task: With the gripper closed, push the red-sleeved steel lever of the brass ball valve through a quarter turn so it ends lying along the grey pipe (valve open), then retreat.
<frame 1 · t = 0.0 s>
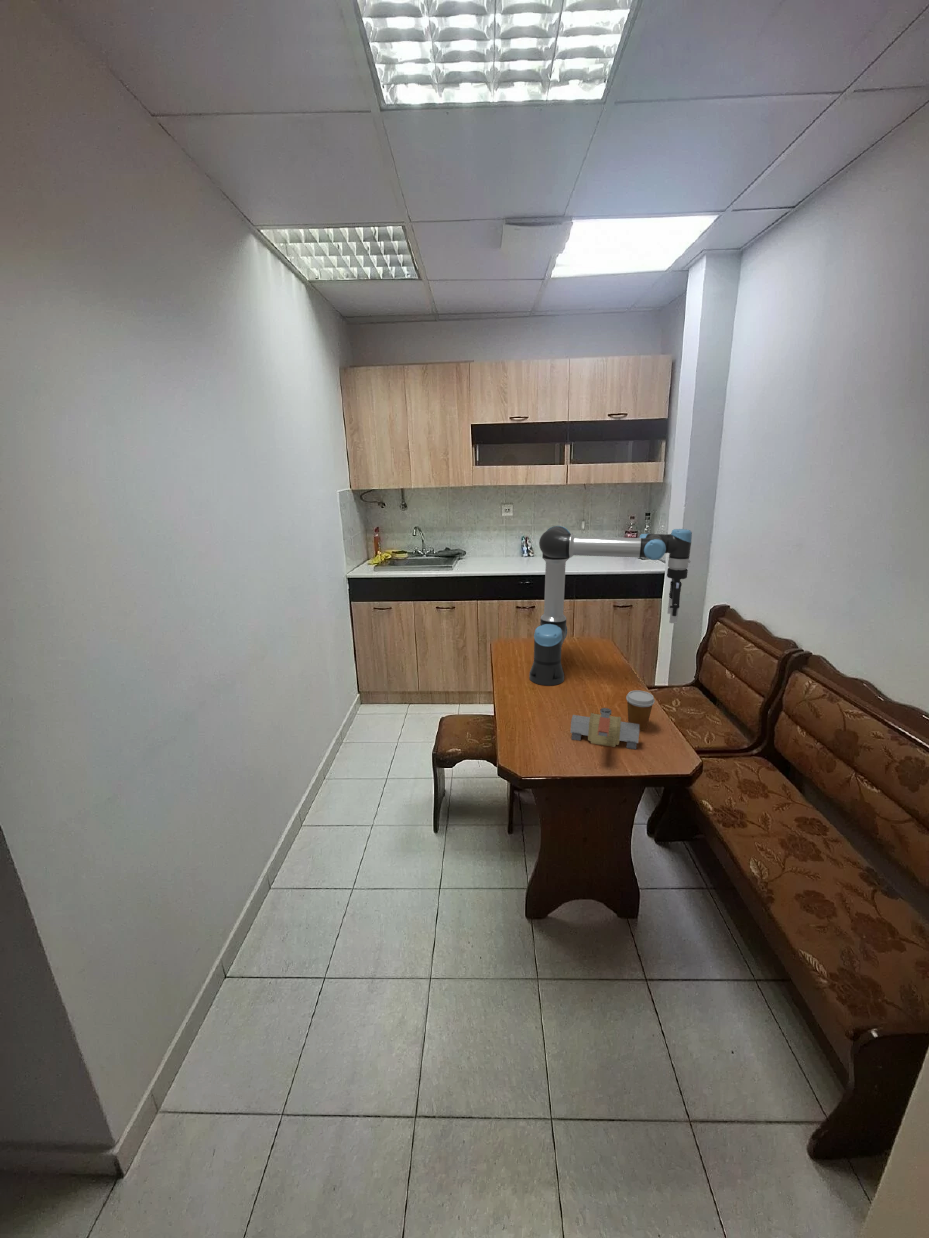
hand: (671, 618, 202), 28 cm above the table, fingers open, 13 cm apart
disposable coffee cup: (637, 726, 174), on the table
valve pipe: (603, 739, 166), on the table
lever: (604, 721, 157), point 11 cm above the table, hinge at 0.0°
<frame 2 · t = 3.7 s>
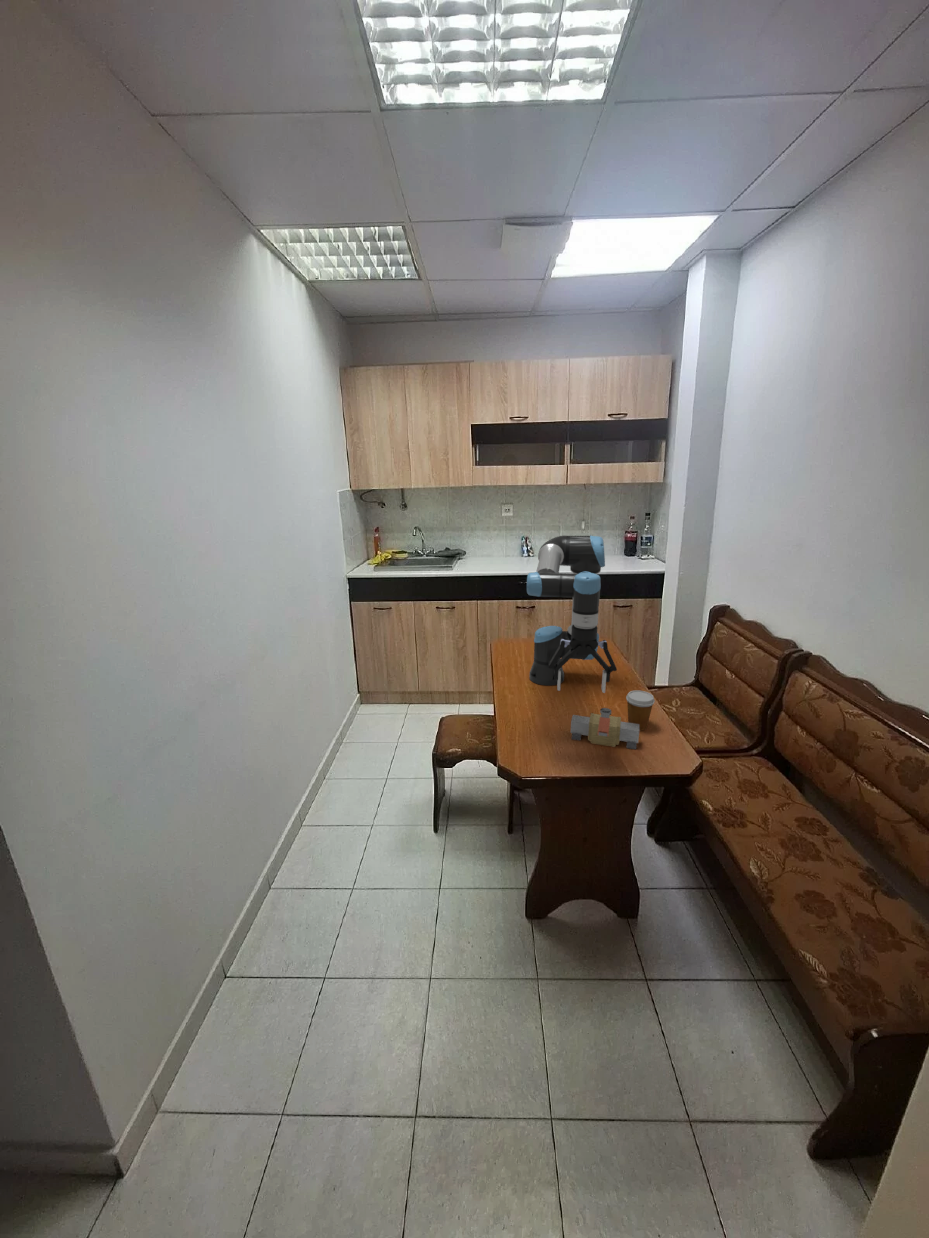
hand: (580, 689, 151), 23 cm above the table, fingers open, 13 cm apart
nothing on the table moved.
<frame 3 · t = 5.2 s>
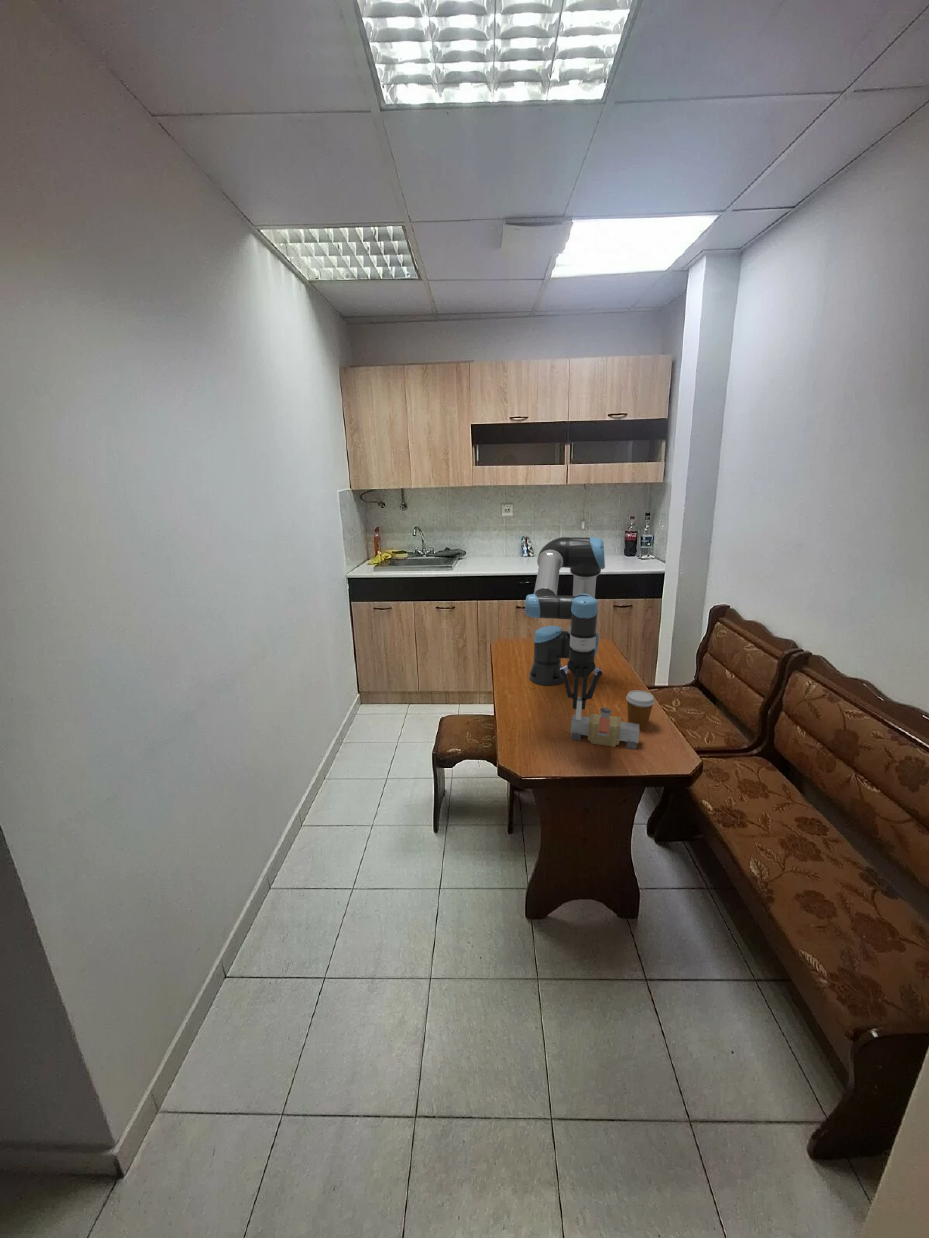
hand: (578, 717, 154), 14 cm above the table, fingers closed
nothing on the table moved.
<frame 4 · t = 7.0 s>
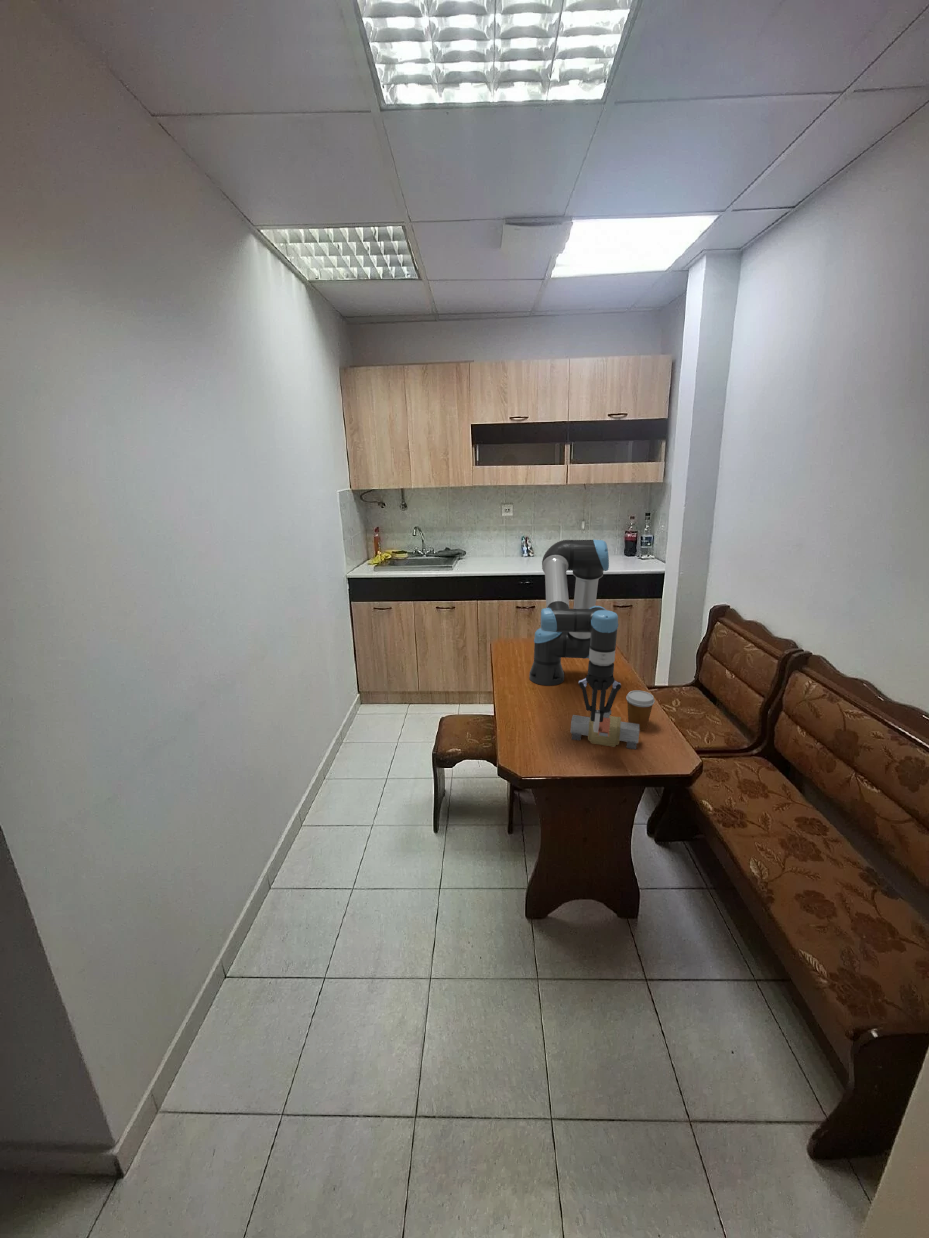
hand: (595, 729, 154), 9 cm above the table, fingers closed
lever: (604, 721, 157), point 11 cm above the table, hinge at 0.6°, touching gripper
everything else where it was.
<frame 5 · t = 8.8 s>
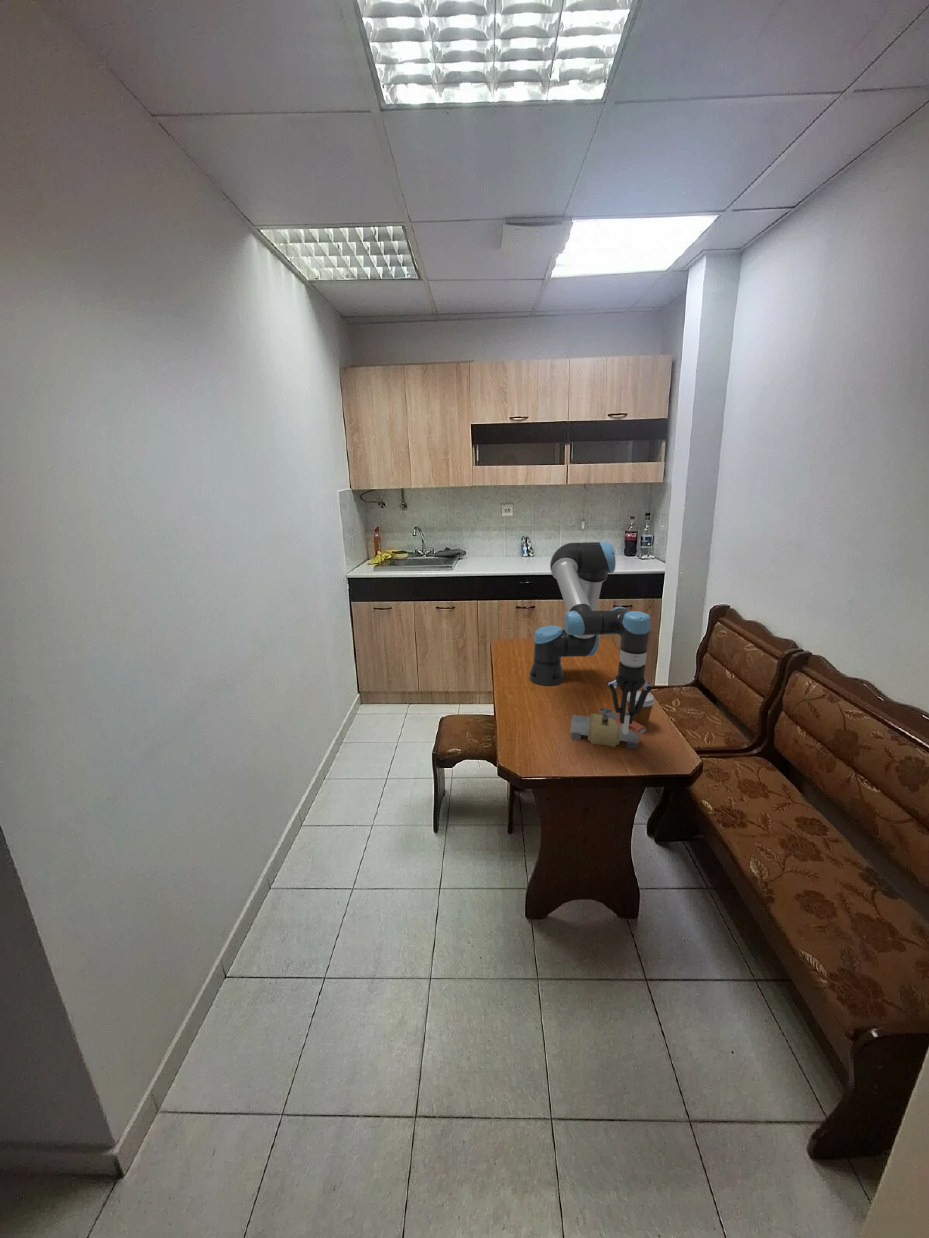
hand: (624, 731, 153), 9 cm above the table, fingers closed
lever: (621, 719, 157), point 11 cm above the table, hinge at 50.8°, touching gripper
everything else where it was.
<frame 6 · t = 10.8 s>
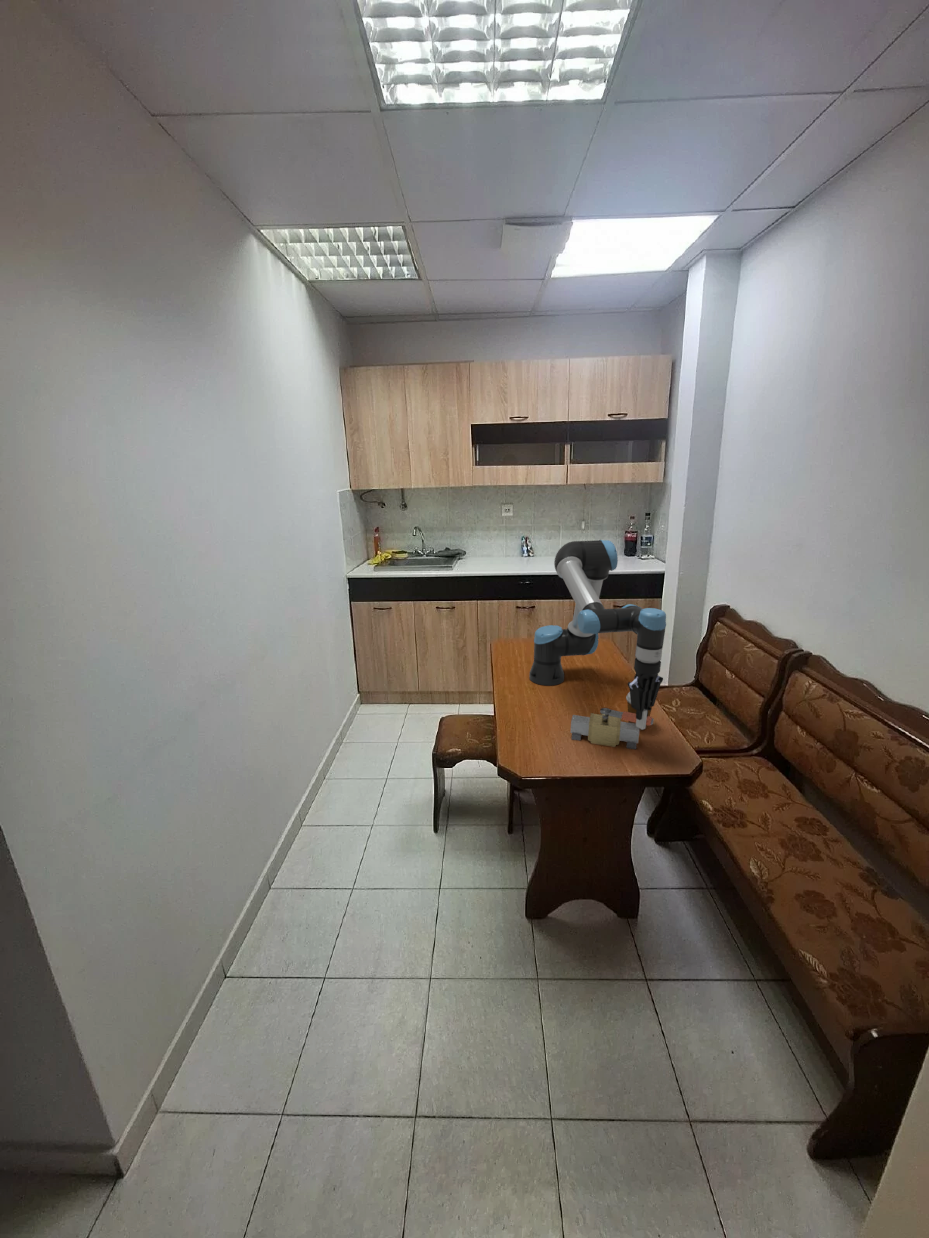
hand: (640, 727, 155), 9 cm above the table, fingers closed
lever: (626, 716, 160), point 11 cm above the table, hinge at 80.8°, touching gripper
everything else where it was.
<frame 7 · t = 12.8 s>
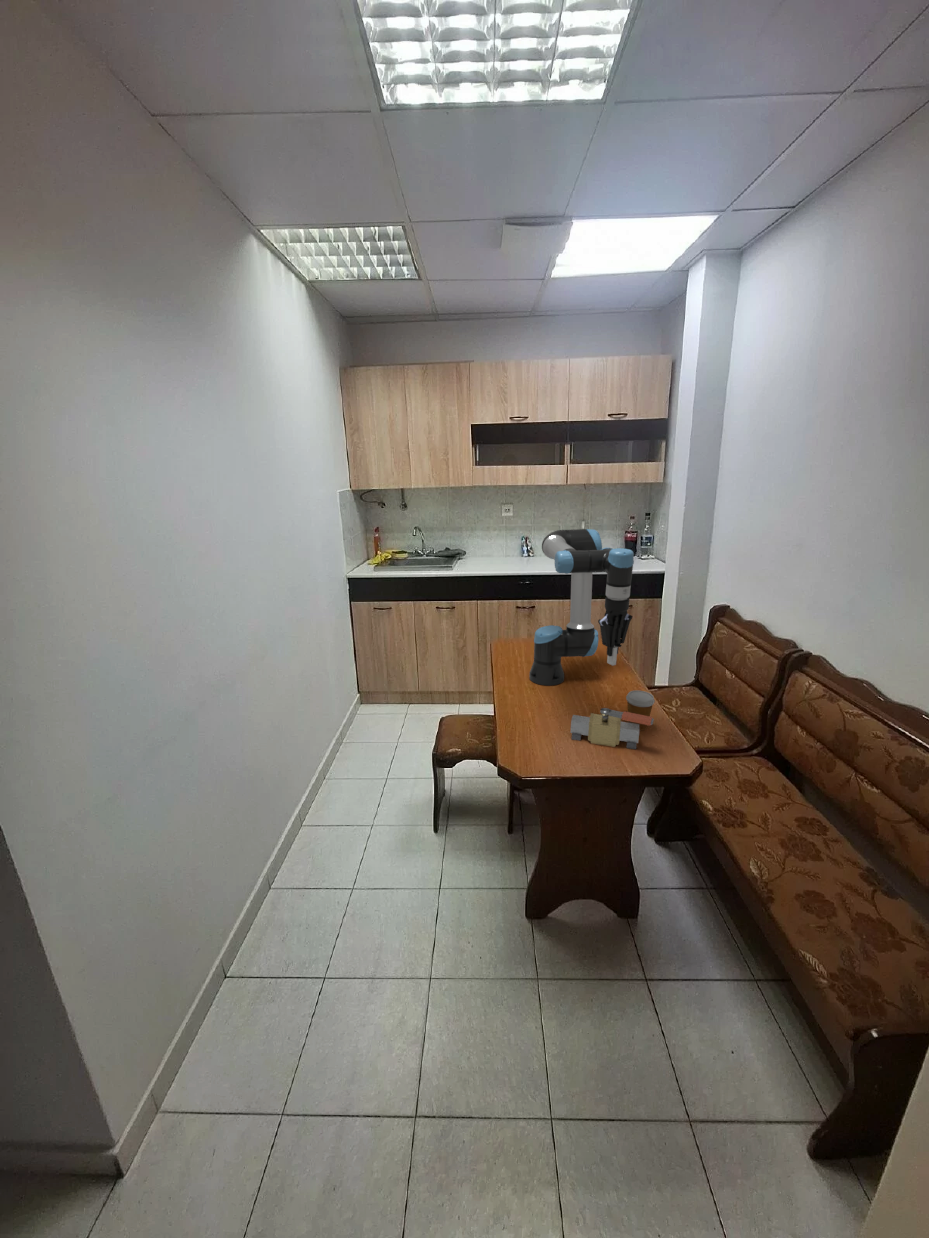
hand: (611, 663, 164), 25 cm above the table, fingers closed
lever: (626, 716, 160), point 11 cm above the table, hinge at 80.8°
everything else where it was.
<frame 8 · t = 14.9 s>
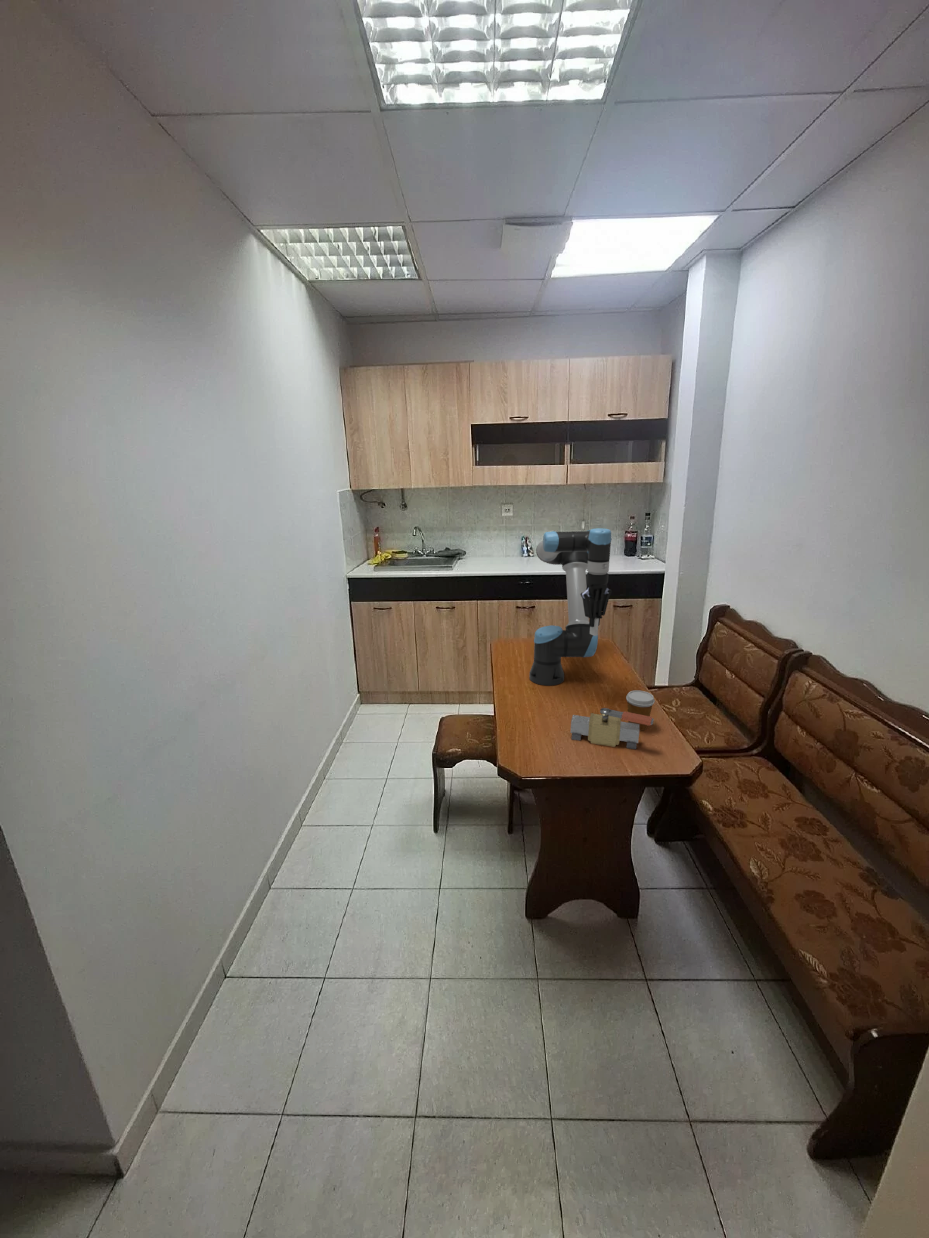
hand: (593, 634, 181), 29 cm above the table, fingers closed
nothing on the table moved.
at the end: lever at +81° (first picture: +0°) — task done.
